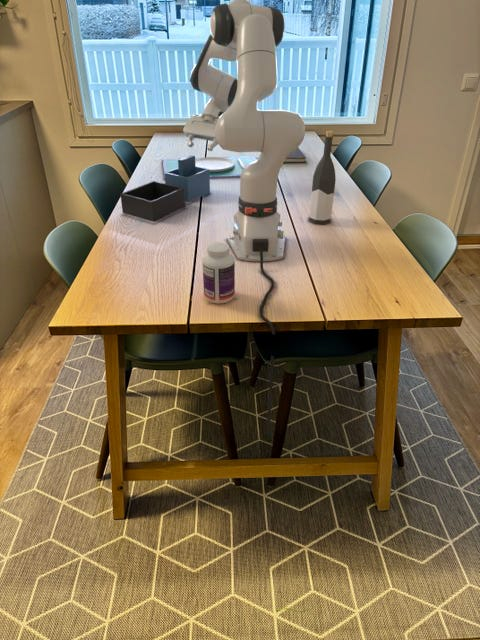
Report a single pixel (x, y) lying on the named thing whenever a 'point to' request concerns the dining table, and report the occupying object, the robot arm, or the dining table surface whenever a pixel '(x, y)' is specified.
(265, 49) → the robot arm
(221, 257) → the pill bottle
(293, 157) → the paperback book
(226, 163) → the place mat
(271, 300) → the dining table surface
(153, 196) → the tote
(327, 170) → the wine bottle
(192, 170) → the caddy
